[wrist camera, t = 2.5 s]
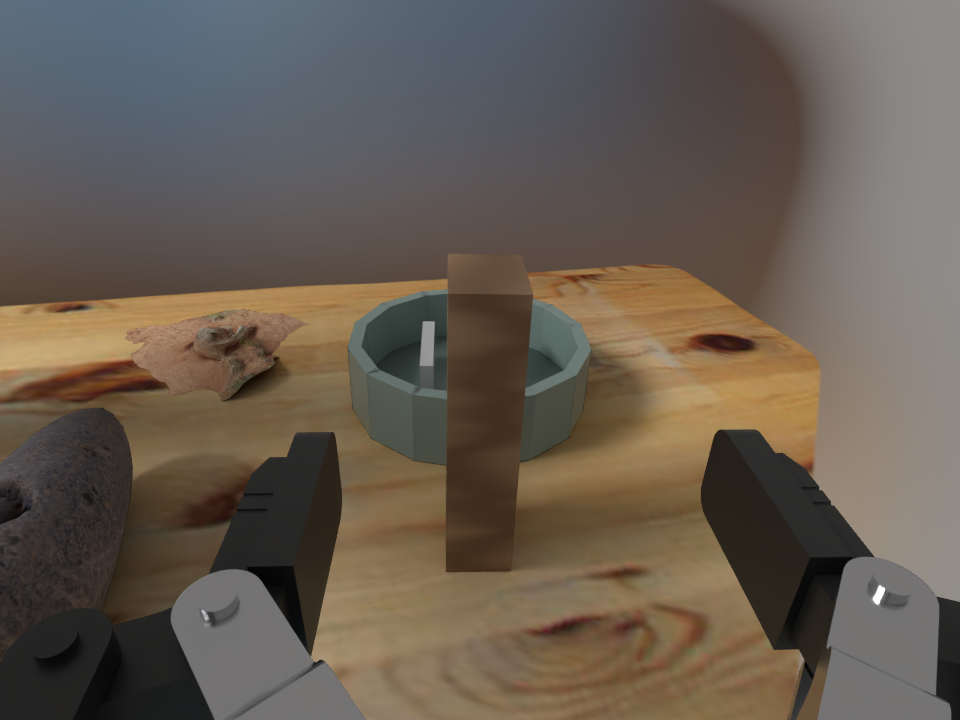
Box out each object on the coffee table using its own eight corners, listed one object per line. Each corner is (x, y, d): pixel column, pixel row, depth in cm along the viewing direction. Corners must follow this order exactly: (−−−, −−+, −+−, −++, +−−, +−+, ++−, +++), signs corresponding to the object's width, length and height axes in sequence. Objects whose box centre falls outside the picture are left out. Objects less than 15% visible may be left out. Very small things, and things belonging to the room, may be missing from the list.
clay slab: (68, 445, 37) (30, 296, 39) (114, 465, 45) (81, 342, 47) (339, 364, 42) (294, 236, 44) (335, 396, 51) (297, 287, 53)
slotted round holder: (338, 469, 35) (331, 402, 32) (368, 340, 48) (365, 286, 46) (603, 468, 35) (614, 402, 33) (560, 341, 49) (566, 288, 46)
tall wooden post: (446, 572, 29) (448, 293, 22) (446, 510, 32) (448, 253, 25) (510, 570, 29) (533, 294, 22) (503, 510, 32) (521, 254, 25)
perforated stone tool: (76, 475, 34) (34, 365, 30) (179, 466, 35) (150, 359, 31) (-90, 765, 21) (-195, 632, 17) (81, 739, 22) (13, 607, 18)
